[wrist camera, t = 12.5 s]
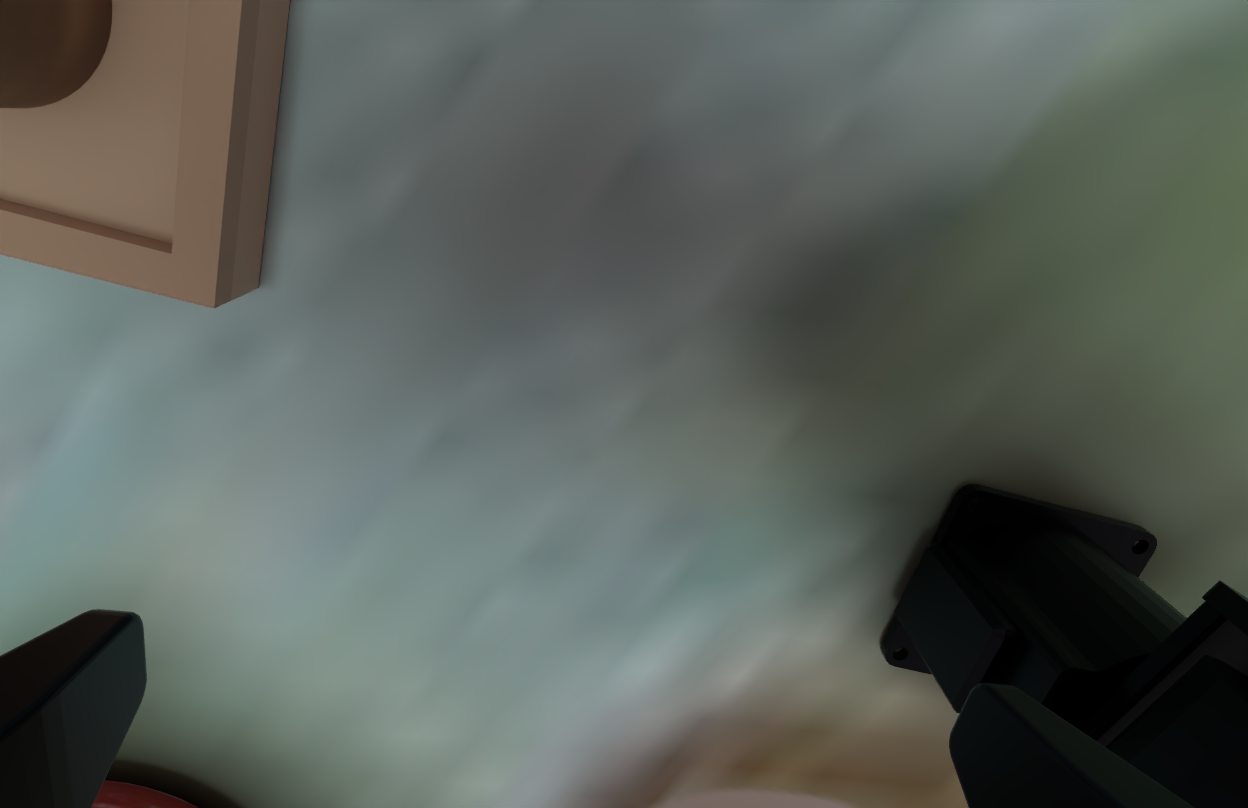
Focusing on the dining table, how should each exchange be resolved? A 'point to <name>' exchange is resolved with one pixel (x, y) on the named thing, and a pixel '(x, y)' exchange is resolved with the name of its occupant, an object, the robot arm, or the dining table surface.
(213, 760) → the dining table surface
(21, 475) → the dining table surface
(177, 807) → the plant pot
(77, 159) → the stand
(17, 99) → the pepper mill
